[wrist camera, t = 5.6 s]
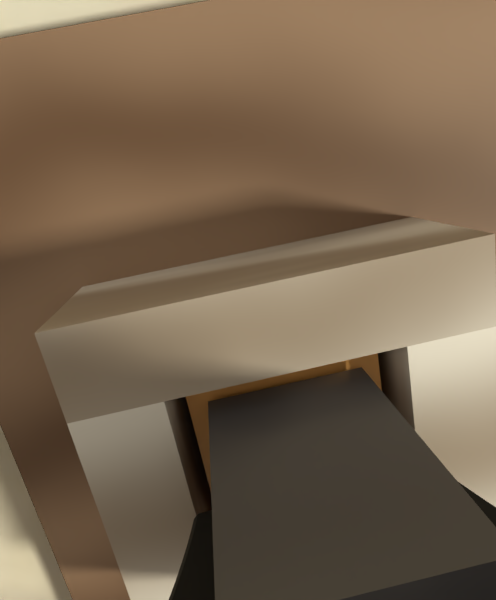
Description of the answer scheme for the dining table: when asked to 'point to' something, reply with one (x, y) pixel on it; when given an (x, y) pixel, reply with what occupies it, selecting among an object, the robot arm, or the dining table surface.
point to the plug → (338, 500)
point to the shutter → (200, 401)
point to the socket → (236, 246)
